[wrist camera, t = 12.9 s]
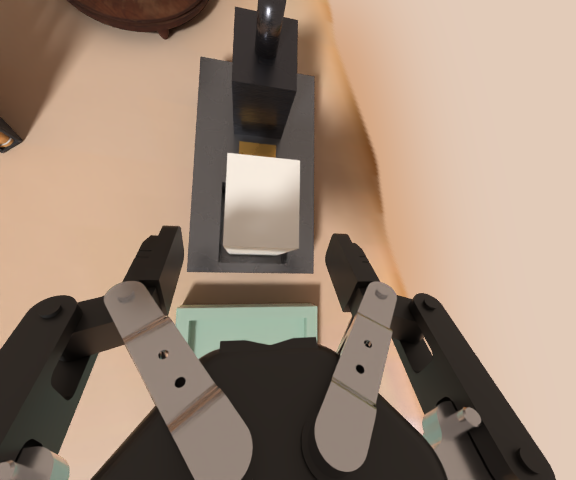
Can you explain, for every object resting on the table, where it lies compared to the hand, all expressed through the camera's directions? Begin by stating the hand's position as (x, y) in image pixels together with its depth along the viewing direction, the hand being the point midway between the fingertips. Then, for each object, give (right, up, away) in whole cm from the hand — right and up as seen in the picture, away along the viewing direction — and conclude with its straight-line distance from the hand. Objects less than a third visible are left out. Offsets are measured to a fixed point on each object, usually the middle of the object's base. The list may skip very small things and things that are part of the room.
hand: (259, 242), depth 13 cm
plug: (-2, +1, +10) cm, 10 cm away
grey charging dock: (-2, +6, +11) cm, 13 cm away
